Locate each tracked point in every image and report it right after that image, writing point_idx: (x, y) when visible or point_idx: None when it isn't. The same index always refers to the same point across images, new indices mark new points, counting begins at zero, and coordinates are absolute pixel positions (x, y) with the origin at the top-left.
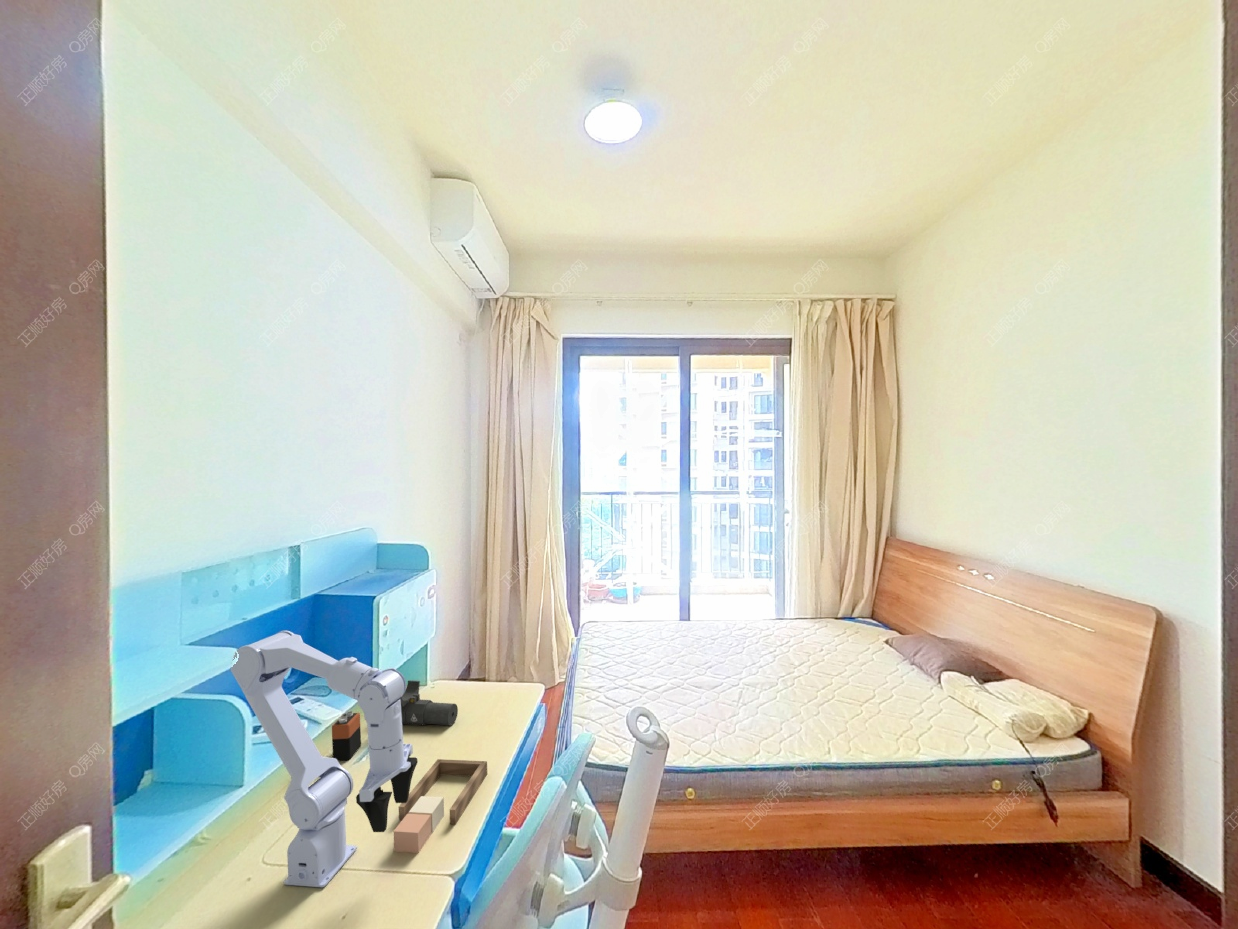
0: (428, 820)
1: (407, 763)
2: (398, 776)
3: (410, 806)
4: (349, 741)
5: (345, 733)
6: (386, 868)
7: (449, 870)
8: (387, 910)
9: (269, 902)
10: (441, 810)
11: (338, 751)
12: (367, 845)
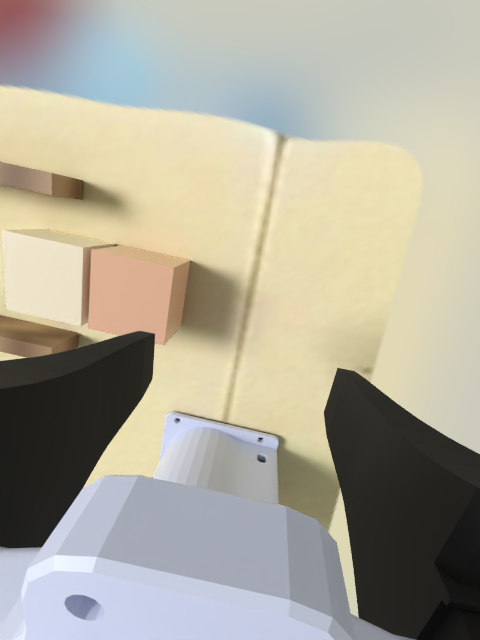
0: (110, 252)
1: (103, 623)
2: (70, 455)
3: (33, 332)
4: None
5: None
6: (235, 326)
7: (264, 146)
8: (372, 280)
9: (296, 510)
10: (43, 233)
11: None
12: (158, 392)
